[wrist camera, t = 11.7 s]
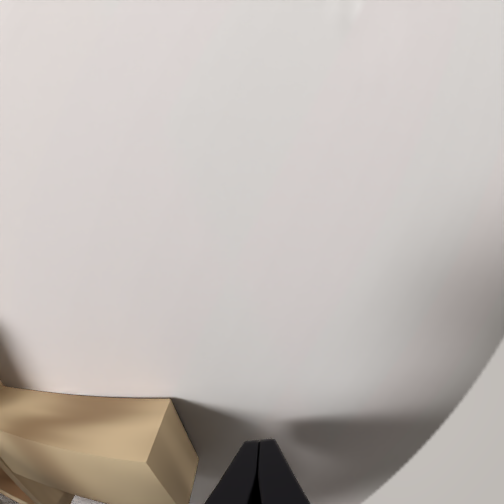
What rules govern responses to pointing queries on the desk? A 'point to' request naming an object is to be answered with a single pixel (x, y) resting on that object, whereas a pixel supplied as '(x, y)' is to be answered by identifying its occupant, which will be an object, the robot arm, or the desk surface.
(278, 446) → the robot arm
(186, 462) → the wooden tray with handle
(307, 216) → the desk surface
